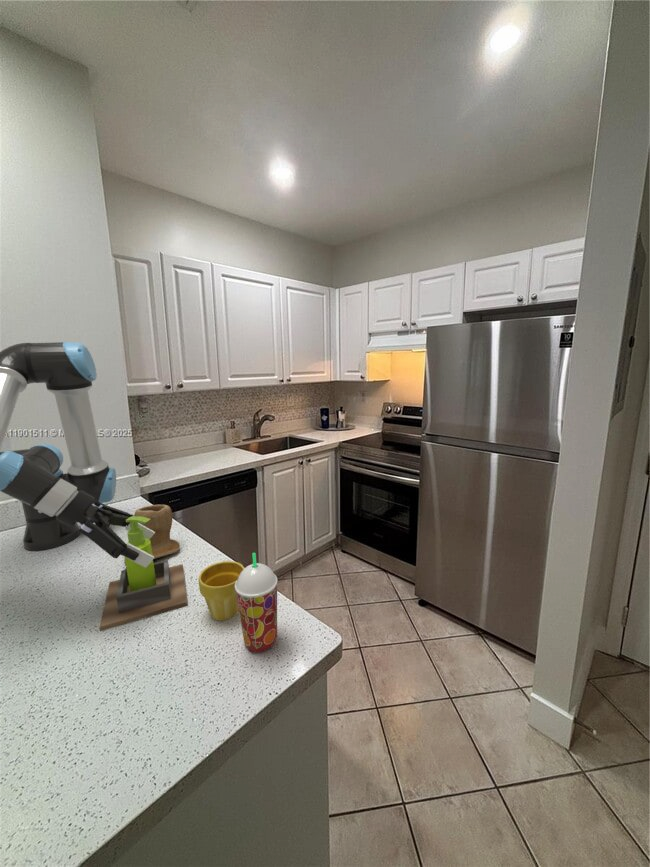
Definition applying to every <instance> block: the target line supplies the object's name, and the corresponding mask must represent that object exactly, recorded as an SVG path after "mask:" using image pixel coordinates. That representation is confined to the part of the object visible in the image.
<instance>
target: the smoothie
mask: <svg viewBox="0 0 650 867" xmlns="http://www.w3.org/2000/svg"><path fill="white" fill-rule="evenodd" d="M278 580H279V579H278V577H277V575H276V574H275V572H273V569H271V568H270V567H269V566H268V565H266V564H264V563H260V562H257V554H256V552H252V564H250V565H247V566H246V567H244V569H243V571H242V572H241V573H240V575H239V577H238V580H237V581H236V583H235V590H236V596H237V602H238V608H239V612H238V613H239V619H240V620H239V621H240V626H241V631H242V637H243V642H244V644H245V645H246V647H247V648H248V650H250V651H252V652H253V653H262V652H267V651H268V650H269V649H271V648H272V646H274V644H275V642H276V640H277V638H278V637H277V636H278Z"/></svg>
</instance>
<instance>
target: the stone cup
mask: <svg viewBox="0 0 650 867" xmlns="http://www.w3.org/2000/svg"><path fill="white" fill-rule="evenodd" d="M134 511H135V512H134V516H140V517H146V518H149V519H150V520H149V521H148V522H146V523H145V524H143V523H140V524H142V525H143V526H145V527H147V528H149V529H150V530H152V531H154V532H155V534H154V535H153V536H152V537H151V538H150V539H149V540H150V541H151V548H152V556H154V559H153V560H155V559H159V558H162V557H165V556H168V555H171V554H174V553H176V552H178V551H179V550H180V548H181V547H180V543H179V541H177V540H175V539H172V538H171V529H172V525H173V512H172V508H171V507H170V506H169V505H167V504H153V505H152V504H151V505H147V506H142V507H139V508H138V509H136V510H134ZM123 561H124V566H125V567H126V562H125V557H124V559H123Z"/></svg>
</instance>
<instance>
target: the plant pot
mask: <svg viewBox="0 0 650 867" xmlns="http://www.w3.org/2000/svg"><path fill="white" fill-rule="evenodd" d="M244 568H245V566H244V565H243V564H242V563H241V562H237V561H234V560H233V561H232V560H227V561H226V560H224V561H219V562H218V561H217V562H215V563H212V564H210V565H208V566H207V567H205V568H204V569H203V570H202V571H201V572H200V573H199V575H198V587H199V593H200V595H201V597H203V598H204V600H205V603H206V606H207V609H208V612H209V614H210V617H211V618H212V619H213V620H216V621H226V620H230V619H232V618H234V617H235V616H236V615H238V613H239V608H238V602H237V596H236V590H235V583H236V581H237V580H238V577H239V575H240V573H241V572H242V571H243V569H244Z"/></svg>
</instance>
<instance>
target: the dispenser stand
mask: <svg viewBox="0 0 650 867" xmlns="http://www.w3.org/2000/svg"><path fill="white" fill-rule="evenodd" d="M153 563H154V570H155V577H156V585H155V586H151V587H147V588H143V589H140V590H136V591H132V592H130V588H129V581H128V575H127V569H123V570H121V571H120V577H119V579H116V580H112V581H109V584H108V587H107V593H106V596H105V599H104V600H105V601H104V605H103V610H102V614H101V618H100V622H99V626H98V627H99V628H98V629H99V632H101V631H105V630H108V629H109V630H110V629H111V628H115V627H118V626H122V625H125V624H130V623H132V622H136V621H139V619H140V620H143V619H145V618H149V617H153V616H157V615H160V614H163V613H166V612H170V611H174V610H177V609H180V608H184V607H186V606H187V607H188V600H187V599H188V598H187V590H186V582H185V581H186V580H185V573H184V572H185V571H184V564H178V565H173V566H170V565H169V560H168V559H166V560H161V561H157V562H153ZM142 618H143V619H142Z"/></svg>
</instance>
